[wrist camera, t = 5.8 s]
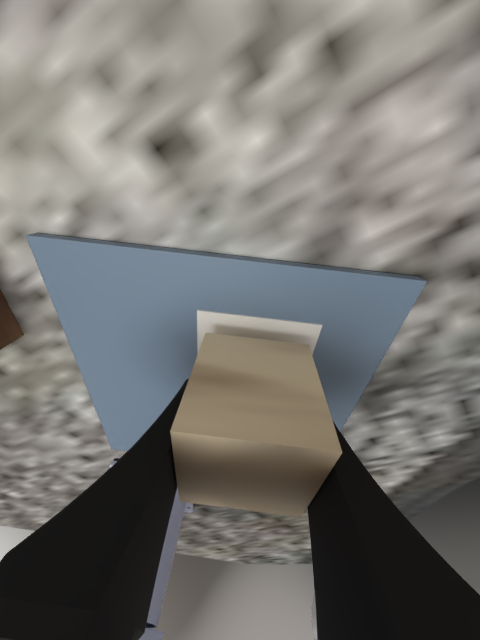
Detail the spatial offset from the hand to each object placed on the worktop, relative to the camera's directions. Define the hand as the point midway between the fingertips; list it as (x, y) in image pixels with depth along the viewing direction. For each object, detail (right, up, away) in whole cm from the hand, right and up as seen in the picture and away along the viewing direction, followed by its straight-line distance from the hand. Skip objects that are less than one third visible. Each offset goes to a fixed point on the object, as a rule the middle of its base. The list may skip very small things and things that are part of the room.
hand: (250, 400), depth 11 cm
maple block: (0, +1, +1) cm, 2 cm away
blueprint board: (-2, -1, +4) cm, 5 cm away
